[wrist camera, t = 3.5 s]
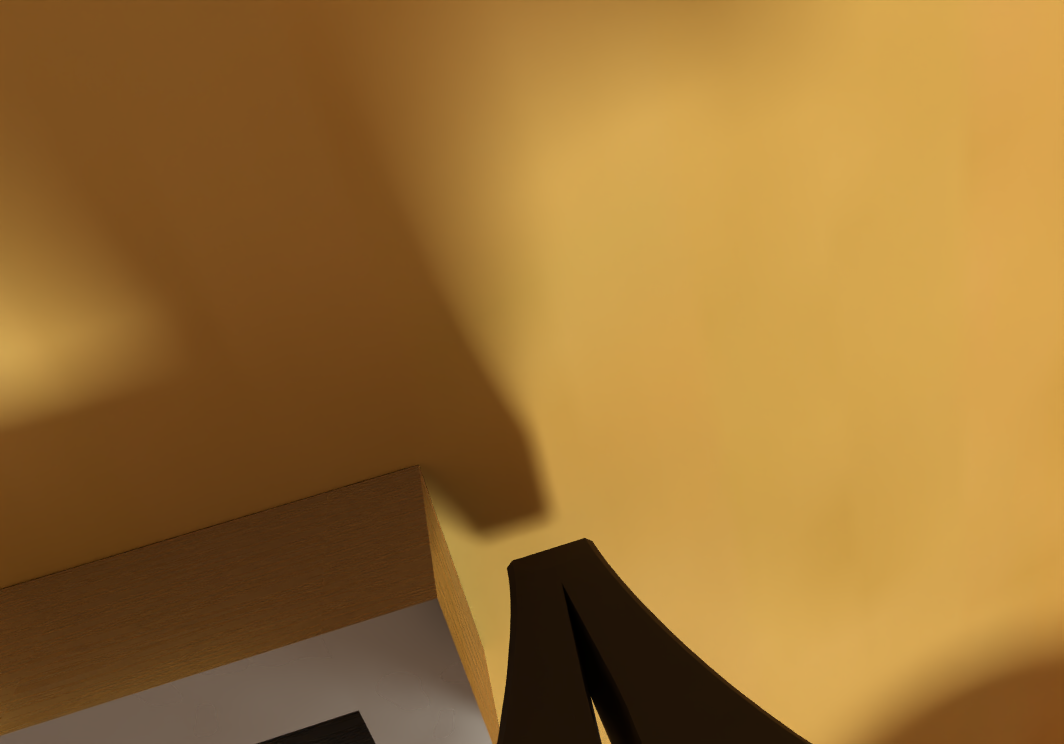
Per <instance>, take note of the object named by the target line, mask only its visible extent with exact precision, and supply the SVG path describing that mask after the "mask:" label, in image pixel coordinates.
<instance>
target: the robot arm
mask: <svg viewBox="0 0 1064 744" xmlns="http://www.w3.org/2000/svg"><path fill="white" fill-rule="evenodd" d="M507 571H508V577H509V584H510V600H511V620H510V642H509V655H508V668H507V679H506V687H505V694H504V701H503V708H502V714H501V721H500V728H499V734H498V740H497V744H602V743H601V739H600V735H599V730H598V726H597V722H596V717H595V713H594V709H593V704H592V700H593V703H594V705H595V707H596V710H597V712H598V714H599V717H600V719H601V721H602V724H603V726H604V728H605V730H606V733H607V735H608V737H609V740H610V742H611V744H812V743H810V742H808V741H807V740H805V739H804V738H802V737H801V736H799V735H798V734H796V733H795V732H793V731H792V730H791V729H789V728H788V727H787V726H785V725H784V724H782V723H781V722H780V721H778V720H777V719H775V718H774V717H773V716H771V715H770V714H769V713H767V712H766V711H764V710H763V709H762V708H760V707H759V706H758V705H757V704H755V703H754V702H753V701H751V700H750V699H749V698H747V697H746V696H745V695H744V694H742V693H741V692H740V691H738V690H737V689H736V688H735V687H733V686H732V685H731V684H730V683H728V682H727V681H726V680H725V679H724V678H722V677H721V676H720V675H719V674H718V673H716V672H715V671H714V670H713V669H712V668H711V667H709V666H708V665H707V664H706V663H705V662H704V661H703V660H701V659H700V658H699V657H698V656H697V655H696V654H695V653H694V652H692V651H691V650H690V649H689V648H688V647H687V646H686V645H685V644H684V643H683V642H681V641H680V640H679V639H678V638H677V637H676V636H675V635H674V634H673V633H672V632H671V631H670V630H669V629H668V628H667V627H666V626H665V625H664V624H663V623H662V622H661V621H660V620H659V619H658V618H657V617H656V616H655V615H654V614H653V613H652V612H651V611H650V610H649V609H648V608H647V607H646V606H645V605H644V604H643V603H642V602H641V601H640V600H639V599H638V598H637V596H636V595H635V594H634V593H633V592H632V591H631V590H630V589H629V588H628V586H627V585H626V584H625V583H624V582H623V581H622V580H621V578H620V577H619V576H618V575H617V574H616V573H615V571H614V570H613V569H612V568H611V566H610V565H609V564H608V563H607V561H606V560H605V559H604V557H603V556H602V555H601V553H600V552H599V550H598V549H597V548H596V546H595V544H594V543H593V541H590V540H588V539H586V538H583V539H580V540H577V541H574V542H571V543H567V544H564V545H561V546H558V547H555V548H551V549H548V550H545V551H542V552H539V553H536V554H532V555H529V556H526V557H523V558H520V559H516V560H513V561H512V562H511V563H510V565H509V566H508V567H507ZM591 698H592V700H591Z"/></svg>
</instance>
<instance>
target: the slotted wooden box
mask: <svg viewBox="0 0 1064 744" xmlns="http://www.w3.org/2000/svg"><path fill="white" fill-rule="evenodd" d="M498 734H499V724H498V719H497V714H496V709H495V704H494V699H493V694H492V689H491V684H490V679H489V674H488V669H487V664H486V659H485V654H484V649H483V646H482V644H481V641H480V638H479V635H478V632H477V629H476V626H475V624H474V621H473V618H472V615H471V612H470V609H469V607H468V604H467V601H466V598H465V595H464V592H463V590H462V587H461V584H460V581H459V578H458V575H457V572H456V570H455V567H454V564H453V561H452V558H451V555H450V553H449V550H448V547H447V544H446V541H445V538H444V535H443V533H442V530H441V527H440V524H439V521H438V518H437V516H436V513H435V510H434V507H433V504H432V501H431V499H430V496H429V493H428V490H427V487H426V484H425V481H424V479H423V476H422V473H421V470H420V467H419V465H417V466H413V467H410V468H406V469H403V470H400V471H396V472H393V473H390V474H386V475H383V476H380V477H376V478H373V479H370V480H366V481H363V482H360V483H356V484H353V485H350V486H346V487H343V488H339V489H336V490H333V491H329V492H326V493H323V494H319V495H316V496H313V497H309V498H306V499H303V500H299V501H296V502H293V503H289V504H286V505H283V506H279V507H276V508H272V509H269V510H266V511H262V512H259V513H256V514H252V515H249V516H246V517H242V518H239V519H236V520H232V521H229V522H226V523H222V524H219V525H216V526H212V527H209V528H205V529H202V530H199V531H195V532H192V533H189V534H185V535H182V536H179V537H175V538H172V539H169V540H165V541H162V542H159V543H155V544H152V545H149V546H145V547H142V548H138V549H135V550H132V551H128V552H125V553H122V554H118V555H115V556H112V557H108V558H105V559H102V560H98V561H95V562H92V563H88V564H85V565H82V566H78V567H75V568H71V569H68V570H65V571H61V572H58V573H55V574H51V575H48V576H45V577H41V578H38V579H35V580H31V581H28V582H25V583H21V584H18V585H15V586H11V587H8V588H4V589H1V590H0V744H497V740H498Z"/></svg>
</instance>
